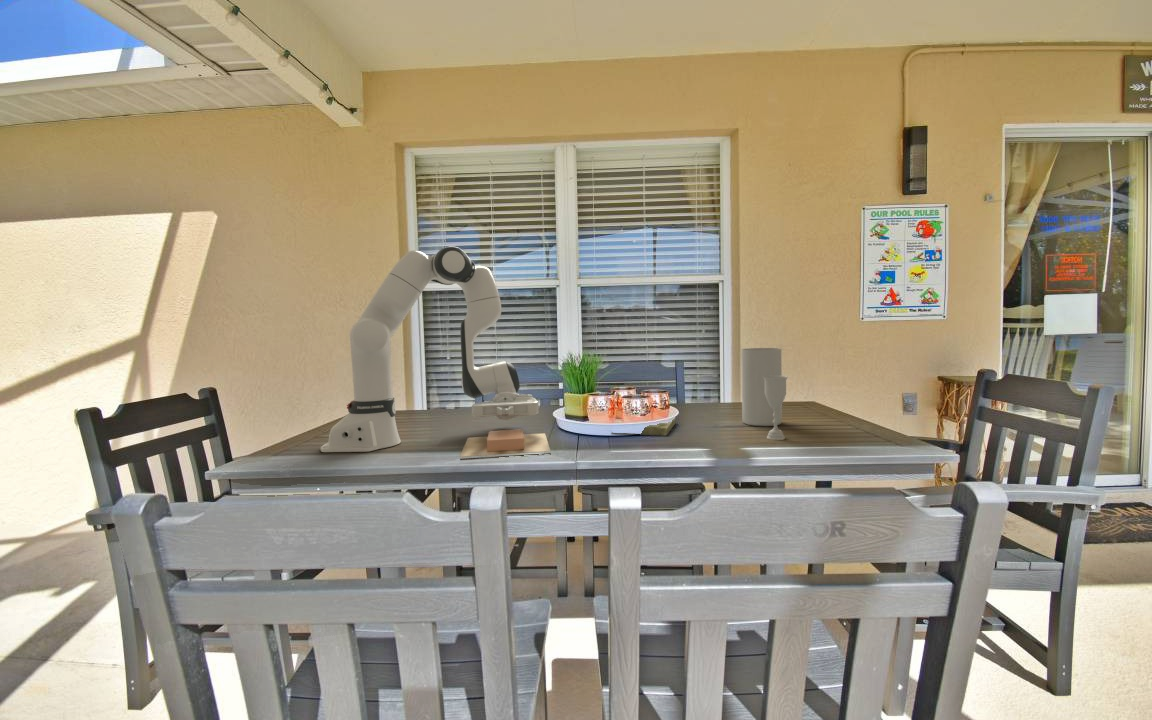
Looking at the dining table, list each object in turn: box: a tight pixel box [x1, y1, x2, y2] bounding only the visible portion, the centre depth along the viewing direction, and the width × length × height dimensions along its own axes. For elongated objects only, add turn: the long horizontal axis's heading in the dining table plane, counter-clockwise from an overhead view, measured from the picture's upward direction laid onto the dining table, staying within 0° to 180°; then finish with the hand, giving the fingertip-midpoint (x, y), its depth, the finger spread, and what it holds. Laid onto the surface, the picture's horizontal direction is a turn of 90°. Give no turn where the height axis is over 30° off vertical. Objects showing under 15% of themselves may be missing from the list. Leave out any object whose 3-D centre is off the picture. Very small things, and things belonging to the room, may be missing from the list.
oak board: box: [459, 433, 551, 461], centre depth 147 cm, size 24×24×1 cm
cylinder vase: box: [740, 347, 783, 427], centre depth 169 cm, size 12×12×25 cm
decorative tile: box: [640, 417, 676, 437], centre depth 168 cm, size 19×20×4 cm
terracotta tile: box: [487, 428, 524, 451], centre depth 145 cm, size 10×3×13 cm
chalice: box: [763, 375, 789, 441], centre depth 147 cm, size 7×7×18 cm
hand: (505, 412), depth 148 cm, fingers closed
